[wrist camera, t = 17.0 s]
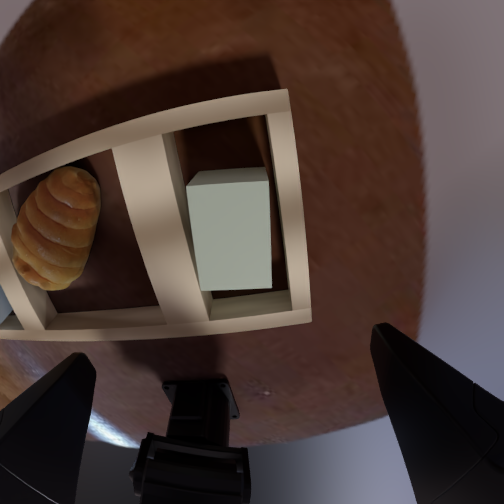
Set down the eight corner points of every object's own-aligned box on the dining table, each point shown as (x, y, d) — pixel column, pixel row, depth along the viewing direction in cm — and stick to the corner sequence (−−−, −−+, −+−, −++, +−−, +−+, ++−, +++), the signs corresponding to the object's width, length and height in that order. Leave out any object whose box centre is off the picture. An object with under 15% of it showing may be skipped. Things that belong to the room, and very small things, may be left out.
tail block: (268, 255, 20) (271, 287, 17) (209, 258, 20) (200, 290, 17) (264, 166, 18) (268, 180, 14) (199, 170, 18) (186, 186, 14)
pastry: (59, 142, 17) (26, 152, 13) (128, 196, 19) (104, 216, 15) (21, 238, 20) (-5, 259, 16) (78, 285, 22) (57, 312, 18)
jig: (306, 300, 22) (311, 321, 20) (6, 324, 24) (-5, 338, 22) (282, 92, 16) (287, 88, 13) (-45, 203, 18) (-62, 212, 15)
